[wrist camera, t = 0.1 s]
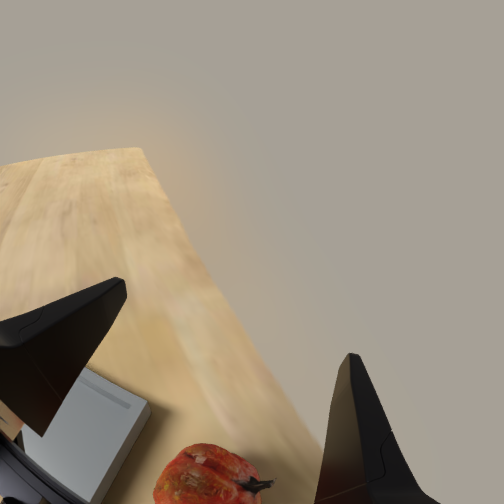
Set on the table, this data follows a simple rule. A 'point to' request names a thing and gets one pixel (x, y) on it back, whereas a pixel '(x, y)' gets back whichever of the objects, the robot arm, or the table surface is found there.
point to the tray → (89, 436)
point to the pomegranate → (209, 478)
